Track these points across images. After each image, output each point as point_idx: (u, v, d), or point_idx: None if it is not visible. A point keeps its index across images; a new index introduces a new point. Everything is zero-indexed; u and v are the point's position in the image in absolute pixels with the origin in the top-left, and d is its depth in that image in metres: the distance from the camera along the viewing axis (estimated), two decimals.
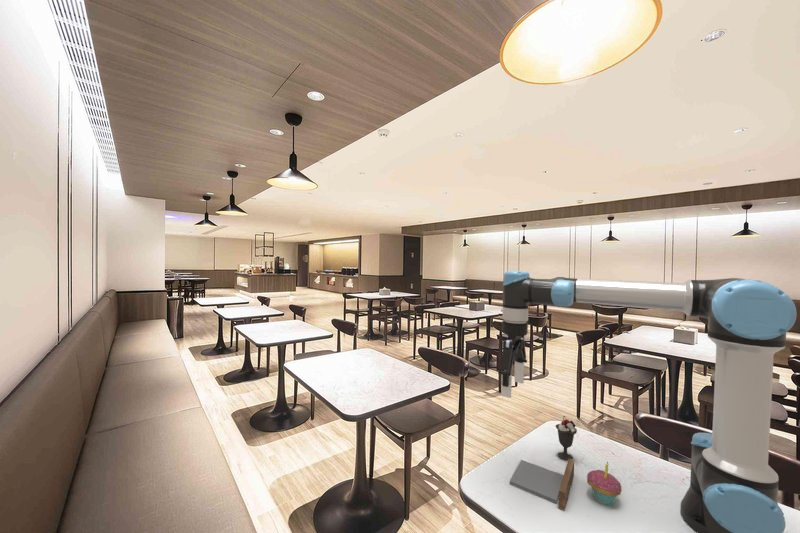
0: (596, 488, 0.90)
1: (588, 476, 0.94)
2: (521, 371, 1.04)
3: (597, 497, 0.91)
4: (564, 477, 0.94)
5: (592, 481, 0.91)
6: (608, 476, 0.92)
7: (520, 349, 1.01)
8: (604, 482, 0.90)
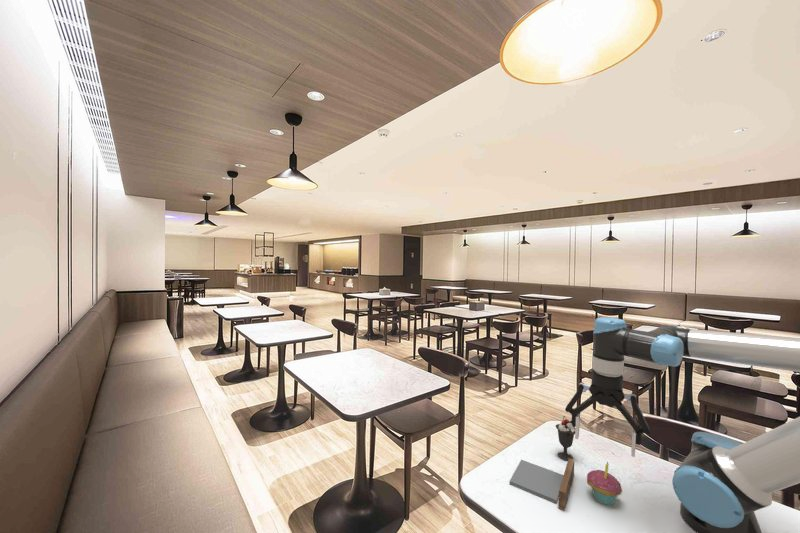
0: (596, 488, 0.90)
1: (588, 476, 0.94)
2: (632, 441, 0.88)
3: (597, 497, 0.91)
4: (564, 477, 0.94)
5: (592, 481, 0.91)
6: (608, 476, 0.92)
7: None
8: (604, 482, 0.90)
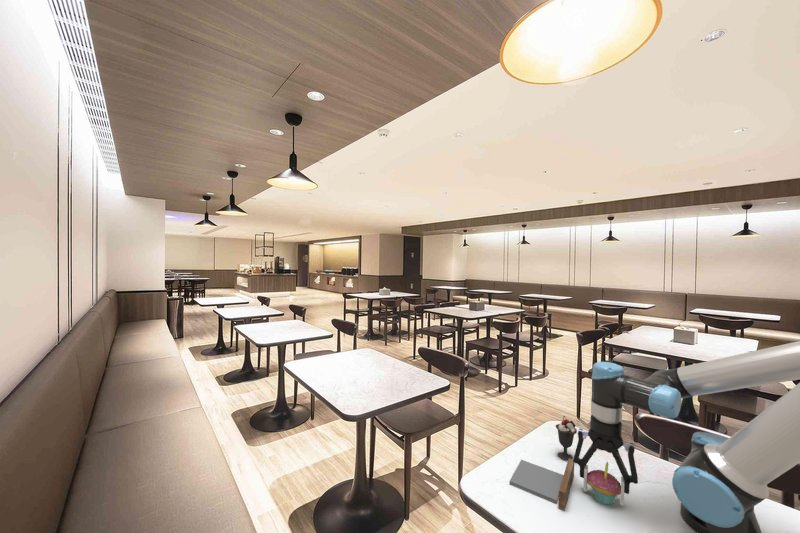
0: (596, 488, 0.90)
1: (588, 476, 0.94)
2: None
3: (597, 497, 0.91)
4: (564, 477, 0.94)
5: (592, 481, 0.91)
6: (608, 476, 0.92)
7: None
8: (604, 482, 0.90)
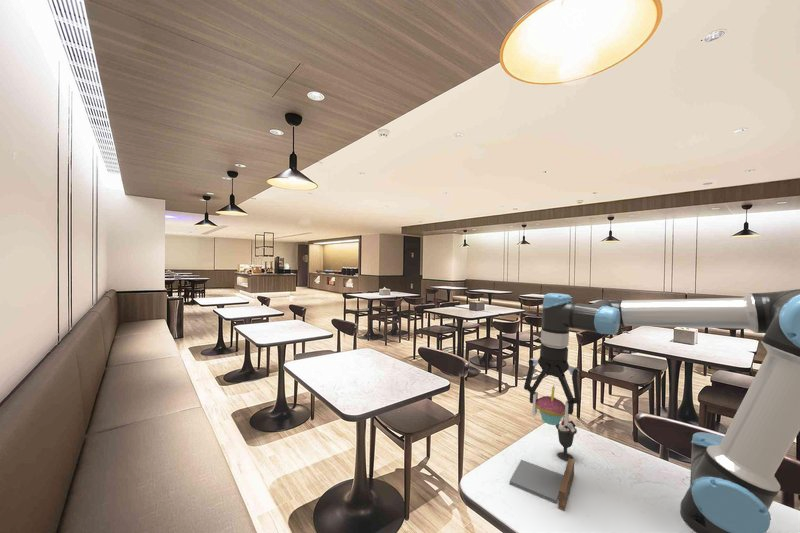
0: (542, 409, 0.95)
1: (537, 401, 0.99)
2: (565, 411, 0.94)
3: (544, 419, 0.97)
4: (564, 477, 0.94)
5: (539, 404, 0.97)
6: (555, 399, 0.97)
7: None
8: (550, 404, 0.95)
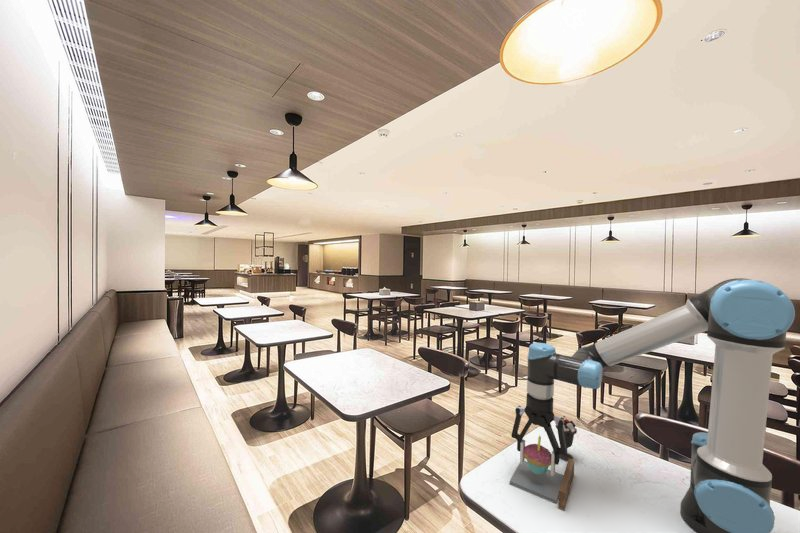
0: (529, 459, 0.97)
1: (524, 449, 1.00)
2: None
3: (531, 468, 0.98)
4: (564, 477, 0.94)
5: (526, 454, 0.98)
6: (541, 449, 0.98)
7: None
8: (537, 454, 0.96)
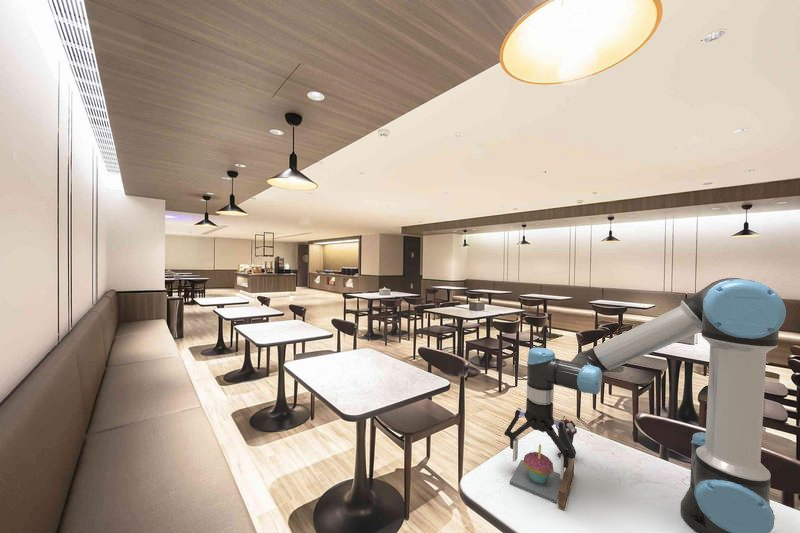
0: (529, 468, 0.97)
1: (524, 457, 1.00)
2: None
3: (531, 477, 0.98)
4: (564, 477, 0.94)
5: (526, 462, 0.98)
6: (542, 457, 0.98)
7: None
8: (537, 462, 0.96)
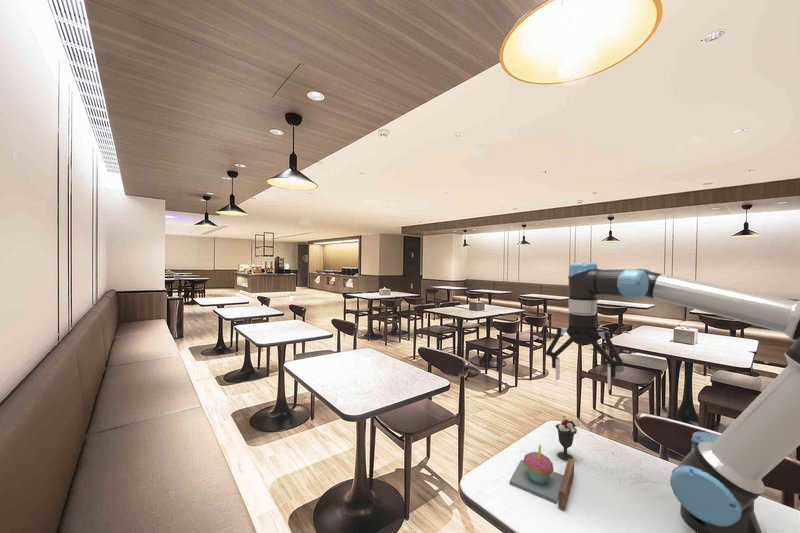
0: (529, 468, 0.97)
1: (524, 457, 1.00)
2: None
3: (531, 477, 0.98)
4: (564, 477, 0.94)
5: (526, 462, 0.98)
6: (542, 457, 0.98)
7: None
8: (537, 463, 0.96)
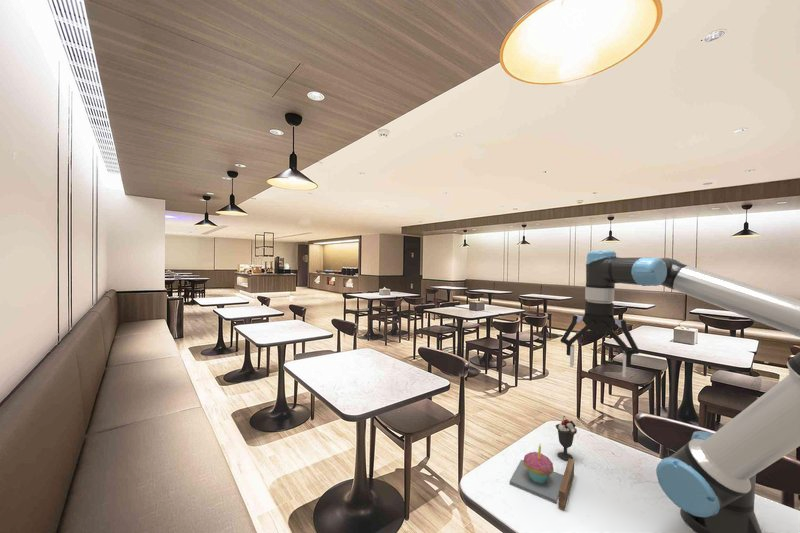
0: (529, 468, 0.97)
1: (524, 457, 1.00)
2: None
3: (531, 477, 0.98)
4: (564, 477, 0.94)
5: (526, 462, 0.98)
6: (542, 457, 0.98)
7: None
8: (537, 463, 0.96)
